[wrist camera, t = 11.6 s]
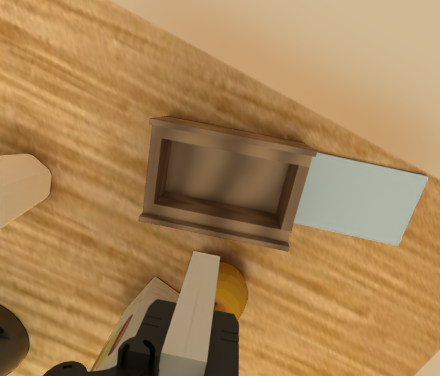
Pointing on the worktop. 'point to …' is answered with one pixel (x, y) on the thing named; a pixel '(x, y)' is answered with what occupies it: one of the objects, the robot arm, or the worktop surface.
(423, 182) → the cover plate
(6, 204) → the cup
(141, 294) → the supplement box
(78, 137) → the worktop surface
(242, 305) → the apple
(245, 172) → the box
